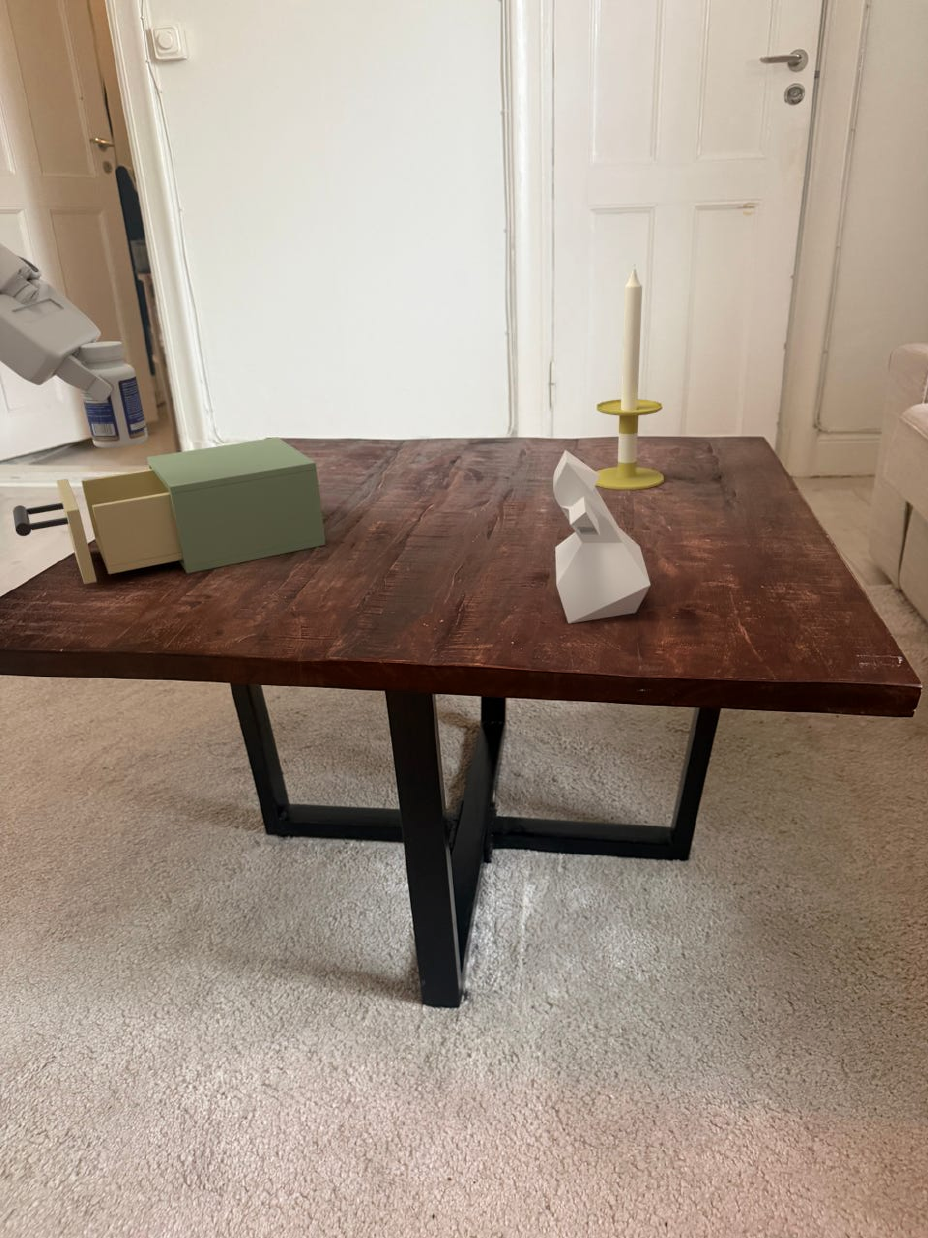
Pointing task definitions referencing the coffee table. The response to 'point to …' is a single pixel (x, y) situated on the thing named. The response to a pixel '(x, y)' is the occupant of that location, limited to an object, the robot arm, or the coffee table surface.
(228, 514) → the cabinet
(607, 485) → the candle
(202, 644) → the coffee table surface
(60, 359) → the robot arm
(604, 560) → the faceted knight figurine
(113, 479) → the drawer
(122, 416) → the pill bottle
